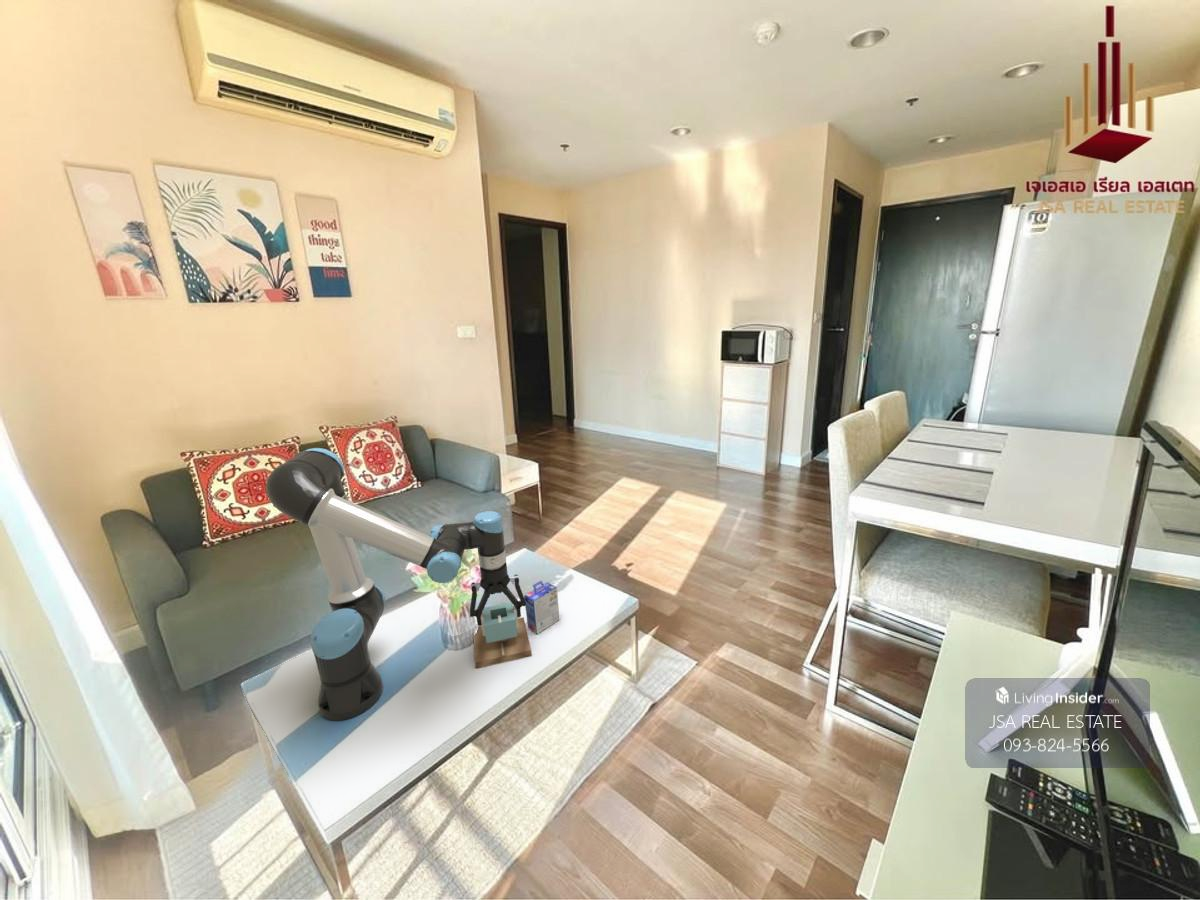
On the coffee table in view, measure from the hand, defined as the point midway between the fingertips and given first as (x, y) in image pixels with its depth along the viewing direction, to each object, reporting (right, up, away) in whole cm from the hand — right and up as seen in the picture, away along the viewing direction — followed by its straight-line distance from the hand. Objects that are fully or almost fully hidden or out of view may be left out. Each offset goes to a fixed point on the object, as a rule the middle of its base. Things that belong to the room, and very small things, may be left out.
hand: (500, 629), depth 140 cm
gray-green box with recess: (0, 0, 0) cm, 0 cm away
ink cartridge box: (+12, -2, +10) cm, 16 cm away
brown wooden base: (0, -5, +1) cm, 5 cm away
